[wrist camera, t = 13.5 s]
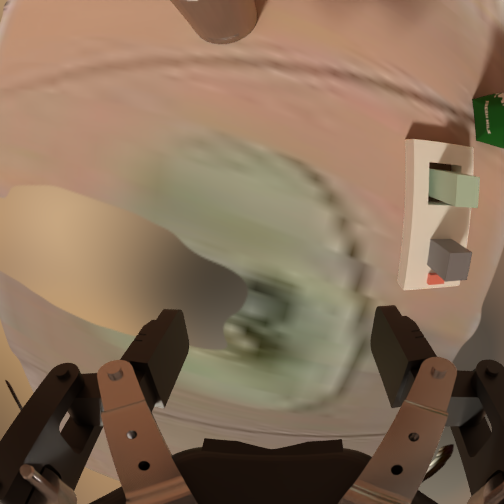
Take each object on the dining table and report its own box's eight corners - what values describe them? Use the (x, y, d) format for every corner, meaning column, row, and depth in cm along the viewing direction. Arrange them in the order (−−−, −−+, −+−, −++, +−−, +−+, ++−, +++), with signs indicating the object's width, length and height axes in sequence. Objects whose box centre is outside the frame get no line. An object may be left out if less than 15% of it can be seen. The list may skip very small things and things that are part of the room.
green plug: (425, 167, 36) (457, 174, 27) (446, 170, 35) (479, 177, 27) (424, 194, 37) (455, 206, 29) (445, 195, 37) (477, 208, 28)
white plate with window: (405, 139, 35) (435, 138, 26) (463, 146, 34) (497, 149, 25) (396, 281, 42) (418, 310, 34) (450, 278, 41) (477, 302, 32)
